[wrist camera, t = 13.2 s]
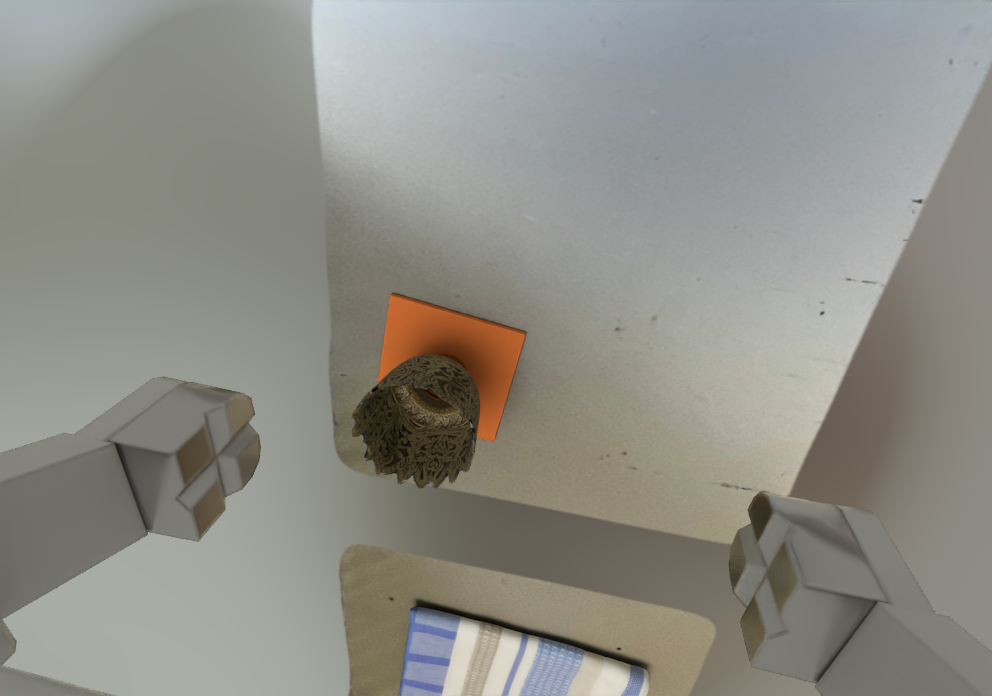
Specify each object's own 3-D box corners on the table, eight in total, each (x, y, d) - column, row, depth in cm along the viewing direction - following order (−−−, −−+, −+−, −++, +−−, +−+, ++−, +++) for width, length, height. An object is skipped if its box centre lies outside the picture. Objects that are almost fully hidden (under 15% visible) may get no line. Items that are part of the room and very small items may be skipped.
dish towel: (605, 752, 57) (605, 783, 55) (398, 691, 59) (389, 718, 56) (657, 663, 49) (660, 694, 46) (414, 594, 50) (404, 621, 48)
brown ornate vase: (382, 332, 37) (332, 393, 30) (482, 317, 35) (453, 379, 28) (414, 419, 40) (374, 493, 33) (507, 410, 38) (486, 486, 31)
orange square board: (392, 292, 36) (390, 294, 35) (526, 332, 35) (525, 334, 35) (376, 403, 40) (374, 405, 40) (494, 439, 40) (493, 442, 40)
